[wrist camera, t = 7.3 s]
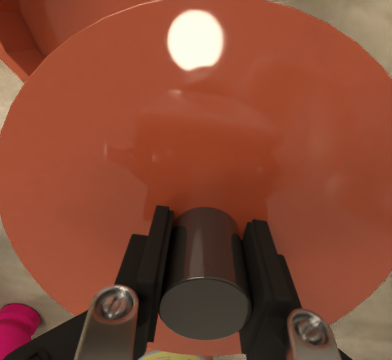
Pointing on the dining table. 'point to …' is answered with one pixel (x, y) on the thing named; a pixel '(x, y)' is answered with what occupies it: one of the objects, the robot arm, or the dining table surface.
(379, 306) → the dining table surface
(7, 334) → the pepper mill
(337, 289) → the lid
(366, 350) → the dining table surface
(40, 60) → the pot
